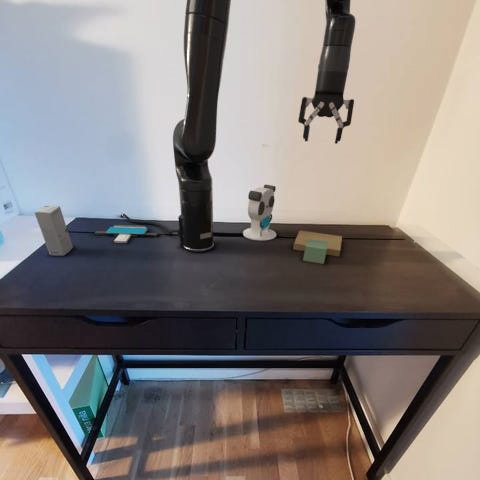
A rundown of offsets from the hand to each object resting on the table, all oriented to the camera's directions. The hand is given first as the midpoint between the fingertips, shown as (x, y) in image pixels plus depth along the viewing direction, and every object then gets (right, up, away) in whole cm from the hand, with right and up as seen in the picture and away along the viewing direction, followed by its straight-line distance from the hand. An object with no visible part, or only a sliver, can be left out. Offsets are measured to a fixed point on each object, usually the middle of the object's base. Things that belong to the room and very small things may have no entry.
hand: (320, 142), depth 90 cm
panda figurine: (-17, -22, +16) cm, 32 cm away
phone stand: (-60, -24, +11) cm, 66 cm away
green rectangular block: (-1, -32, +4) cm, 32 cm away
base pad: (+2, -27, +10) cm, 29 cm away
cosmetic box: (-75, -32, 0) cm, 81 cm away
